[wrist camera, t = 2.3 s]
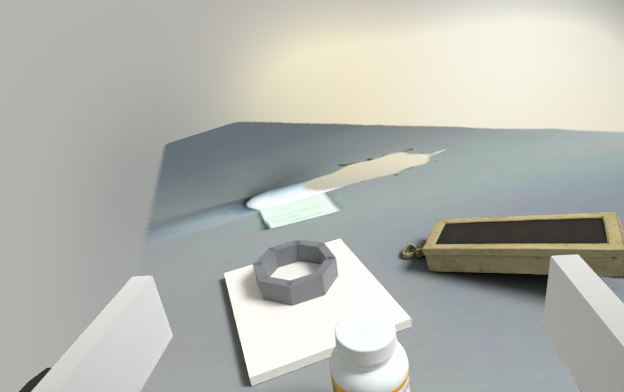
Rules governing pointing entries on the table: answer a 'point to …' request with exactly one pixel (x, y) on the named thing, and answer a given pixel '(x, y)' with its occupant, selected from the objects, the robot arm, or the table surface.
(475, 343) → the table surface
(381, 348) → the supplement bottle
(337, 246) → the plate
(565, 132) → the table surface
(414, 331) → the table surface
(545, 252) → the box
